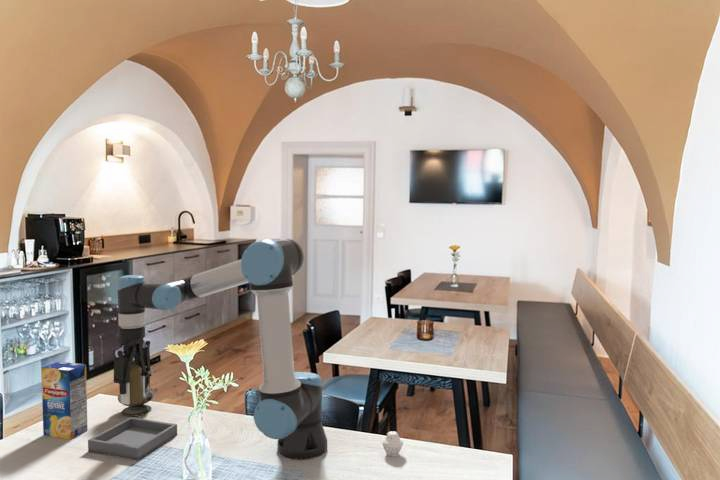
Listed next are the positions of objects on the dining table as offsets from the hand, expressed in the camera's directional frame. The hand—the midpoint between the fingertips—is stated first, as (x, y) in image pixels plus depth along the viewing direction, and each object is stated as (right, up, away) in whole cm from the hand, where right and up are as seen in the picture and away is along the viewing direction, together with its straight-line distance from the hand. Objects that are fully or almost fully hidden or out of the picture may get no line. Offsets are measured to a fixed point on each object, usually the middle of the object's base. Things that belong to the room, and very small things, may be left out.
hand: (133, 399), depth 163 cm
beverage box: (-25, -13, +8) cm, 29 cm away
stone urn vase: (-10, -12, +26) cm, 30 cm away
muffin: (+80, -15, -5) cm, 81 cm away
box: (0, -14, +1) cm, 14 cm away
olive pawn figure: (0, -1, 0) cm, 1 cm away
